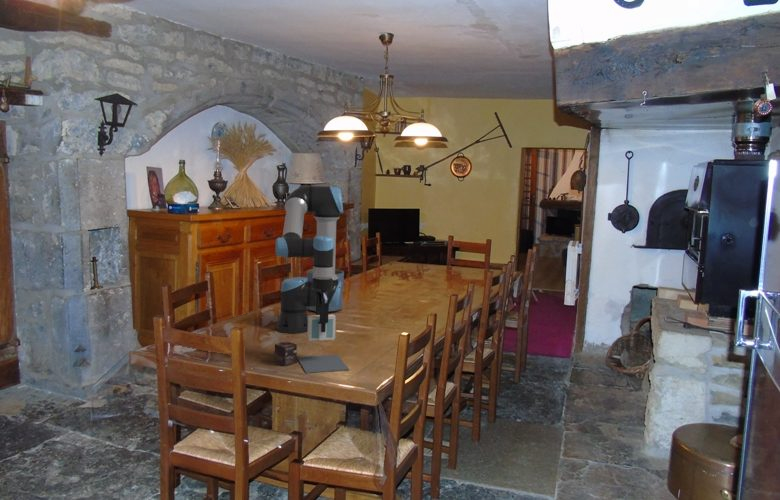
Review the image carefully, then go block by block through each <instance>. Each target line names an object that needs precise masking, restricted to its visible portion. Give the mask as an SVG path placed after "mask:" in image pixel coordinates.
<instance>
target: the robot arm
mask: <svg viewBox="0 0 780 500" xmlns="http://www.w3.org/2000/svg"><path fill="white" fill-rule="evenodd" d="M284 210H285V212H286V213H285V218H284V226H283V231H282V236H281V237H277V238H276V239H275V255H276V256H277V257H278V258H279V257H281V258H285V259H287V258H308V259H312V269H311V271H313V277H312V281H308V279H307V276H296V277H290V278H286V279H283V280H282V281H281V285H280V313H279V317H278V320H277V322H276V330H277V331H278V332H280V333H286V334H287V333H288V334H301V333H305V332H308V309H307V307H316V311H315V315H320V322H318V324H319V340H318V341H327V340H326V326H327V323H328V315H329V307H335V306H337V305H338V302H339V297H340V290H341V282H340V281H338V277H337V276H336V275H335V269H336V253H337V252H336V251H337V249H336V248H337V247H336V246H337V242H336V241H337V221H338V220H339V219H340V218H341V214H344V205H343V196H342V190H341V188H340V187H337V186H331V185H329V186H327V185H316V186H315V185H302V186H301V187H300V186H299V187H298V188H295V190H293V191H292V192H290V194H289V195H288V196H287V198H286V200H285V204H284ZM306 213H313V218H314V219H315V220H316V235H315V236H314V237H313V238H307V237H303V230H304V229H303V228H304V219H305V214H306Z"/></svg>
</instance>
